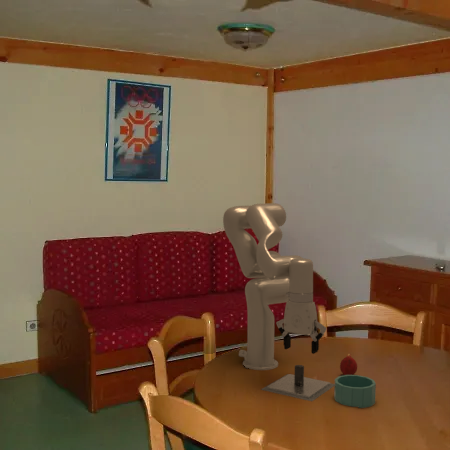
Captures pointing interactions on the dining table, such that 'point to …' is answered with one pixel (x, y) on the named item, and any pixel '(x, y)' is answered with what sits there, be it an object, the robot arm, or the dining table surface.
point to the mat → (299, 396)
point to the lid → (299, 384)
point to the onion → (348, 365)
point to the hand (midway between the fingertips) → (300, 350)
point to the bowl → (355, 391)
